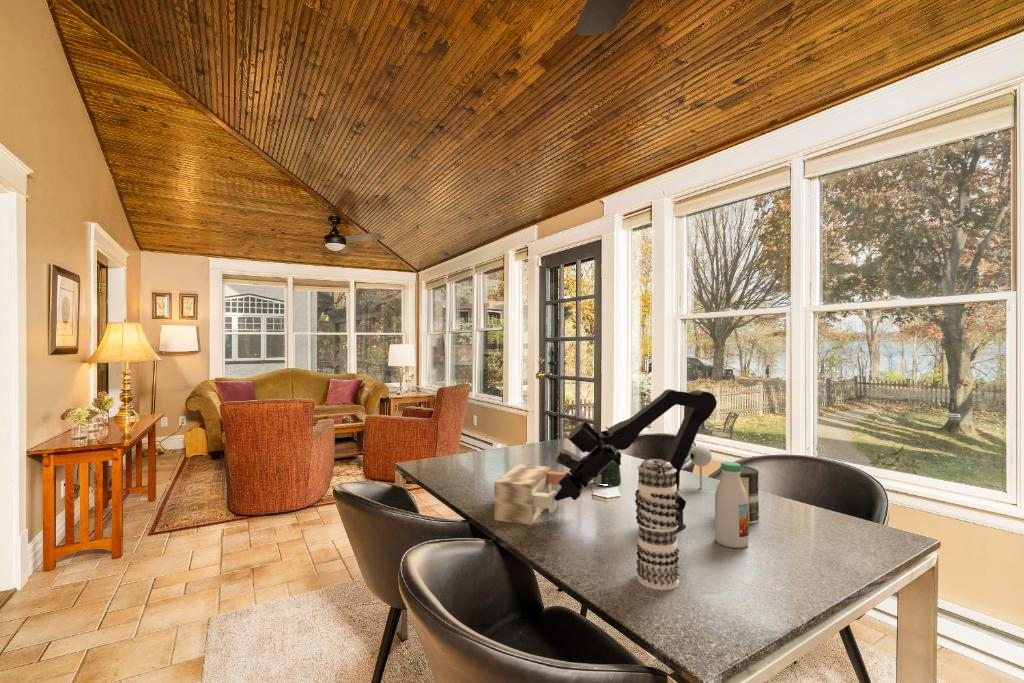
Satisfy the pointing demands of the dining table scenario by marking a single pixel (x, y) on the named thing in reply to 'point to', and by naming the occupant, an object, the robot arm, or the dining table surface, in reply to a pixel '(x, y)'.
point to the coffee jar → (609, 472)
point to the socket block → (520, 493)
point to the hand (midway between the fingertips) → (555, 499)
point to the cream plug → (545, 500)
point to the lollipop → (700, 458)
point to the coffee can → (750, 491)
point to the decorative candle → (657, 525)
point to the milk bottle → (731, 508)
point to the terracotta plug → (555, 477)
